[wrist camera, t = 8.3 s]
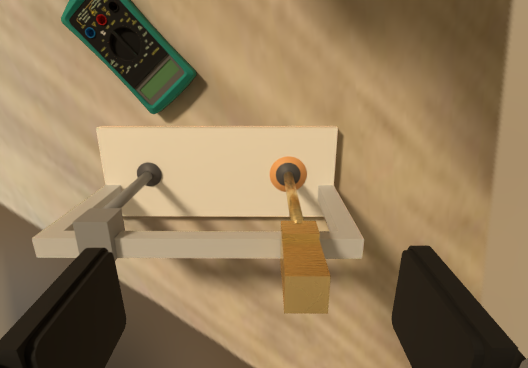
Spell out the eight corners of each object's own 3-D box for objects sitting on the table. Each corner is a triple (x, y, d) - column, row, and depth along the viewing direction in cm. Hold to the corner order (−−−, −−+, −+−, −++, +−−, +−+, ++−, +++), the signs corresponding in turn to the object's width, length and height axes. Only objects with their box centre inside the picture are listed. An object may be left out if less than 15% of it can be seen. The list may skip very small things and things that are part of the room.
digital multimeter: (106, -30, 37) (93, -37, 35) (200, 74, 41) (195, 75, 38) (67, 18, 39) (51, 15, 36) (160, 114, 43) (152, 117, 40)
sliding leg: (276, 171, 42) (285, 268, 22) (300, 171, 42) (331, 268, 22) (276, 201, 44) (284, 319, 23) (299, 201, 43) (327, 319, 23)
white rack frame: (101, 126, 43) (4, 160, 27) (335, 126, 42) (375, 160, 27) (115, 211, 47) (37, 285, 31) (329, 212, 46) (361, 286, 31)
